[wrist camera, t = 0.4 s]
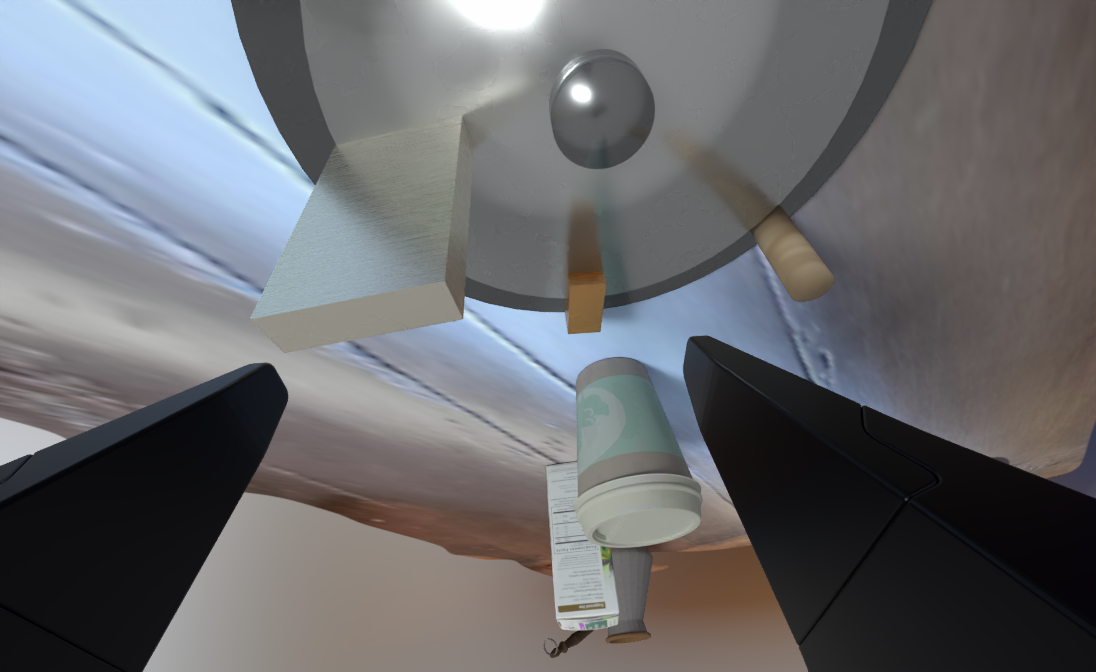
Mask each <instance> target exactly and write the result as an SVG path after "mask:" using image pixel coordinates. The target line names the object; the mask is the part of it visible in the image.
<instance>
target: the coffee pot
mask: <svg viewBox="0 0 1096 672" xmlns="http://www.w3.org/2000/svg"><path fill="white" fill-rule="evenodd" d="M611 553H612V560H613V568H614V575H615V582H616V589H617V596H618V603H619V611H620V612H619V620H618V625H614V626H611V627H608V638H606V642H607V643H628V642H635V641H641V640H645V639H648V638H650V637H651V635H650V633H648V632H647V630H646V627H645V625H644V622H643V617H644V611H645V604H646V598H647V592H648V586H649V580H650V573H651V567H652V555H651V553H650V552H649V550H648V549H647V548H646V547H644V546H641V547H630V548H613V547H611ZM592 631H593V630H578V631H577V632H575V633H573V634H572V635H571V636H570V637H569V638H568V639H567V640H566V641H565V642H563V641H562V642H560V644H559V647H557V644H556V642H555V641H554V640H553V639H549V638H548V639H546V640H545V641H544V644H543V647H544V650H545V652H546V654H548V655H550V657H551V658H554V657H557V656H559V655H560V653H561V652H563V653H566V652H567V650H568V648H570V647H572V646H574V645H577V644H578V643H580V642H581V641H582V640H583V639H584V638H585V637H586V636H587V635H589V634H590V633H591V632H592ZM547 640H551V641H553V642H554V644H555V645H556V648H554V649H553V651H552V652H551V653H550V654H549V653H548V652H547V651H546V649H545V642H546V641H547Z"/></svg>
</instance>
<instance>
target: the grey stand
mask: <svg viewBox="0 0 1096 672" xmlns="http://www.w3.org/2000/svg"><path fill="white" fill-rule="evenodd" d="M888 3H889V0H300V5H301V14H302V24H303V33H304V43H305V50H306V54H307V59H308V63H309V67H310V72H311V76H312V81H313V85H314V89H315V93H316V95H317V98H318V101H319V104H320V107H321V110H322V112H323V115H324V118H325V121H326V124H327V126H328V129H329V131H330V133H331V135H332V137H333V139H334V141H335V143H336V145H335V147H334V149H333V151H332V153H331V155H330V157H329V159H328V161H327V163H326V165H325V167H324V169H323V171H322V173H321V175H320V177H319V179H318V181H317V183H316V185H315V188H314V190H313V192H312V194H311V196H310V198H309V200H308V202H307V204H306V206H305V208H304V210H303V212H302V214H301V216H300V218H299V220H298V222H297V224H296V226H295V228H294V230H293V232H292V234H291V236H290V239H289V241H288V243H287V245H286V247H285V249H284V251H283V253H282V255H281V257H280V259H279V261H278V263H277V265H276V267H275V269H274V271H273V273H272V275H271V277H270V279H269V281H268V283H267V285H266V287H265V290H264V292H263V294H262V296H261V298H260V300H259V302H258V304H257V306H256V308H255V310H254V312H253V314H252V316H251V318H250V320H251V321H252V322H253V323H254V324H255V325H256V326H257V327H258V328H259V329H260V330H261V331H262V332H263V333H264V334H265V335H266V336H267V337H268V338H270V339H271V340H272V341H273V342H274V343H275V344H276V345H277V346H278V347H279V348H280V349H281V350H282V351H283V352H284V353H287V352H292V351H297V350H302V349H308V348H313V347H318V346H324V345H329V344H334V343H339V342H345V341H350V340H355V339H361V338H366V337H371V336H376V335H382V334H387V333H392V332H398V331H403V330H408V329H413V328H419V327H424V326H429V325H435V324H440V323H445V322H450V321H456V320H461V319H463V313H464V297H465V280H466V277H469V278H471V279H473V280H475V281H478V282H481V283H484V284H486V285H489V286H492V287H495V288H498V289H502V290H506V291H510V292H514V293H518V294H523V295H530V296H537V297H543V298H563V299H564V310H565V317H566V324H567V331H568V334H576V333H591V332H600V331H601V322H602V314H603V306H604V297H605V296H607V295H614V294H619V293H623V292H627V291H631V290H636V289H640V288H643V287H646V286H649V285H652V284H655V283H658V282H661V281H664V280H666V279H669V278H671V277H673V276H675V275H678V274H680V273H682V272H685V271H687V270H689V269H691V268H693V267H695V266H696V265H698V264H700V263H702V262H704V261H706V260H707V259H709V258H711V257H713V256H714V255H716V254H717V253H719V252H720V251H722V250H723V249H725V248H726V247H728V246H730V245H731V244H733V243H734V242H736V241H737V240H738V239H739V238H741V237H742V236H743V235H744V234H746V233H747V232H748V231H750V230H751V229H752V228H753V227H755V226H756V225H757V224H758V223H760V222H761V221H762V220H763V219H764V218H765V217H766V216H767V215H768V214H769V213H770V212H771V211H772V210H773V209H774V208H776V207H777V206H778V205H779V204H780V203H781V202H782V201H783V200H784V199H785V197H786V196H787V195H788V194H789V193H790V192H791V191H792V190H793V189H794V187H795V186H796V185H797V184H798V183H799V182H800V181H801V180H802V179H803V177H804V176H805V175H806V174H807V172H808V171H809V170H810V168H811V167H812V166H813V164H814V163H815V162H816V160H817V159H818V158H819V156H820V155H821V154H822V152H823V151H824V150H825V148H826V147H827V145H828V143H829V142H830V140H831V138H832V137H833V135H834V134H835V132H836V130H837V129H838V127H839V126H840V124H841V122H842V121H843V119H844V118H845V116H846V114H847V112H848V110H849V108H850V106H851V104H852V102H853V100H854V98H855V96H856V94H857V92H858V90H859V88H860V86H861V84H862V82H863V79H864V77H865V74H866V71H867V69H868V66H869V64H870V61H871V58H872V56H873V53H874V51H875V48H876V45H877V43H878V40H879V36H880V33H881V29H882V25H883V22H884V18H885V14H886V11H887V7H888Z"/></svg>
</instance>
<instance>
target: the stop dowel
mask: <svg viewBox="0 0 1096 672" xmlns="http://www.w3.org/2000/svg"><path fill="white" fill-rule="evenodd" d="M750 233H751V234H752V236H753V237H754V239H755V241H756V242H757V244H758V245H759V247H760V249H761V250H762V252H763V253H764V255H765V257H766V258H767V260H768V261H769V263H770V265H771V266H772V268H773V269H774V271H775V273H776V274H777V276H778V277H779V279H780V280H781V282H782V284H783V285H784V287H785V288H786V290H787V292H788V293H789V295H790V296H791V298H792V299H793V300H795V301H798V302H806V301H810V300H813V299H816V298H818V297H820V296H821V295H823V294H824V293H826V292H827V291H828V290H829V289H830V288H831V286H832V285H833V283H834V276H833V275H832V273H831V272H830V271H829V269H828V268H827V267H826V265H825V264H824V263H823V261H822V260H821V259H820V257H819V256H818V255H817V253H816V252H815V251H814V249H813V248H812V247H811V245H810V244H809V243H808V241H807V240H806V239H805V237H804V236H803V235H802V233H801V232H800V231H799V229H798V228H797V227H796V225H795V224H794V223H793V221H792V220H791V219H790V217H789V216H788V215H787V213H786V212H785V211H784V209H783V208H782V207H781V206H779V205H778V206H777V207H776V208H774V209H773V210H772V211H771V212H770V213H769V214H768V215H767V216H766V217H765V218H764V219H763V220H762V221H761V222H760V223H758V224H757V225H756V226H755V227H753V228H752V229H751V230H750Z"/></svg>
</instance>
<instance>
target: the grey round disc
mask: <svg viewBox="0 0 1096 672" xmlns="http://www.w3.org/2000/svg"><path fill="white" fill-rule="evenodd" d="M231 2H232V7H233V11H234V15H235V19H236V24H237V28H238V32H239V36H240V39H241V42H242V45H243V47H244V50H245V53H246V56H247V59H248V61H249V64H250V67H251V70H252V72H253V75H254V78H255V81H256V84H257V86H258V89H259V91H260V93H261V95H262V97H263V99H264V101H265V103H266V105H267V107H268V109H269V111H270V114H271V116H272V118H273V120H274V122H275V124H276V126H277V128H278V130H279V132H280V134H281V135H282V137H283V138H284V140H285V142H286V143H287V145H288V146H289V148H290V150H291V151H292V153H293V154H294V156H295V158H296V159H297V161H298V162H299V164H300V166H301V167H302V169H303V170H304V172H305V173H306V174H307V175H308V177H309V178H310V179H311V180H312V182H313V183H314V184H315V185H316V183H317V181H318V179H319V177H320V175H321V173H322V171H323V169H324V167H325V165H326V163H327V161H328V159H329V157H330V155H331V153H332V151H333V149H334V147H335V145H336V143H335V141H334V139H333V137H332V135H331V133H330V131H329V129H328V126H327V124H326V121H325V118H324V115H323V112H322V110H321V107H320V104H319V101H318V98H317V95H316V93H315V89H314V85H313V81H312V76H311V72H310V67H309V63H308V59H307V54H306V50H305V43H304V33H303V24H302V14H301V5H300V0H231ZM931 2H932V0H889V3H888V7H887V11H886V14H885V18H884V22H883V25H882V29H881V33H880V36H879V40H878V43H877V45H876V48H875V51H874V53H873V56H872V58H871V61H870V64H869V66H868V69H867V71H866V74H865V77H864V79H863V82H862V84H861V86H860V88H859V90H858V92H857V94H856V96H855V98H854V100H853V102H852V104H851V106H850V108H849V110H848V112H847V114H846V116H845V118H844V119H843V121H842V122H841V124H840V126H839V127H838V129H837V130H836V132H835V134H834V135H833V137H832V138H831V140H830V142H829V143H828V145H827V147H826V148H825V150H824V151H823V152H822V154H821V155H820V156H819V158H818V159H817V160H816V162H815V163H814V164H813V166H812V167H811V168H810V170H809V171H808V172H807V174H806V175H805V176H804V177H803V179H802V180H801V181H800V182H799V183H798V184H797V185H796V186H795V187H794V189H793V190H792V191H791V192H790V193H789V194H788V195H787V196H786V197H785V199H784V200H783V201H782V202H781V203H780V204H779V206H781V207H782V208H783V209H784V211H785V212H786V213H787V215H788V216H789V217H790V216H792V215H793V214H794V213H795V212H796V211H797V210H798V209H799V208H800V207H801V206H802V205H803V204H804V203H805V202H806V201H807V200H808V199H809V198H810V197H812V196H813V195H814V193H815V192H816V191H817V190H818V189H819V188H820V187H821V186H822V184H823V183H824V182H825V181H826V180H827V179H828V178H829V177H830V175H831V174H832V173H833V172H834V171H835V170H836V169H837V168H838V167H839V165H840V164H841V163H842V161H843V160H844V159H845V157H846V156H847V155H848V153H849V152H850V151H851V149H852V148H853V147H854V146H855V144H856V143H857V142H858V140H859V139H860V138H861V136H862V135H863V134H864V132H865V131H866V129H867V128H868V126H869V125H870V123H871V121H872V120H873V118H874V117H875V115H876V113H877V112H878V110H879V109H880V107H881V105H882V104H883V102H884V101H885V99H886V98H887V96H888V94H889V93H890V91H891V89H892V87H893V85H894V83H895V81H896V79H897V77H898V76H899V74H900V72H901V70H902V68H903V66H904V64H905V62H906V60H907V58H908V56H909V54H910V52H911V50H912V48H913V46H914V44H915V41H916V39H917V37H918V34H919V32H920V29H921V27H922V24H923V22H924V19H925V17H926V14H927V12H928V9H929V7H930V4H931ZM756 244H757V242H756V241H755V239H754V237H753V236H752V234H751V233H750V231H748V232H747V233H746V234H744V235H743V236H742V237H741V238H739V239H738V240H737V241H736V242H734V243H733V244H731V245H730V246H728V247H726V248H725V249H723V250H722V251H720V252H719V253H717V254H716V255H714V256H713V257H711V258H709V259H707V260H706V261H704V262H702V263H700V264H698V265H696V266H695V267H693V268H691V269H689V270H687V271H685V272H682V273H680V274H678V275H675V276H673V277H671V278H669V279H666V280H664V281H661V282H658V283H655V284H652V285H649V286H646V287H643V288H640V289H636V290H631V291H627V292H623V293H619V294H614V295H607V296H605V297H604V306H603V309H605V308H611V307H617V306H623V305H627V304H631V303H635V302H638V301H642V300H646V299H650V298H653V297H655V296H658V295H661V294H664V293H667V292H669V291H672V290H675V289H678V288H680V287H682V286H684V285H686V284H689V283H691V282H693V281H695V280H697V279H700V278H702V277H704V276H706V275H708V274H709V273H711V272H713V271H715V270H717V269H718V268H720V267H722V266H724V265H725V264H727V263H729V262H731V261H732V260H734V259H735V258H737V257H738V256H740V255H741V254H743V253H744V252H746V251H747V250H749V249H750V248H752V247H753V246H755V245H756ZM465 296H466V297H469V298H472V299H476V300H479V301H482V302H485V303H489V304H494V305H498V306H503V307H508V308H513V309H520V310H530V311H539V312H565V310H564V299H563V298H543V297H537V296H530V295H523V294H518V293H514V292H510V291H506V290H502V289H498V288H495V287H492V286H489V285H486V284H484V283H481V282H478V281H475V280H473V279H471V278H469V277H466V280H465Z"/></svg>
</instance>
